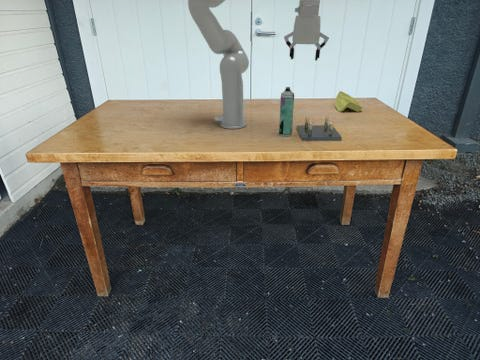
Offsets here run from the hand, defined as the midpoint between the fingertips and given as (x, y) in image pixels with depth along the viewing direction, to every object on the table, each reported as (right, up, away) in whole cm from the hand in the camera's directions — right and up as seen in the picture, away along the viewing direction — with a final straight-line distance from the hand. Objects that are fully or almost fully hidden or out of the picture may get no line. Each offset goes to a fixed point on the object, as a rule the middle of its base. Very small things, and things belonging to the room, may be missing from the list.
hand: (304, 59), depth 128 cm
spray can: (-6, -29, +10) cm, 31 cm away
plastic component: (+34, -9, +49) cm, 60 cm away
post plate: (+8, -29, +10) cm, 31 cm away
